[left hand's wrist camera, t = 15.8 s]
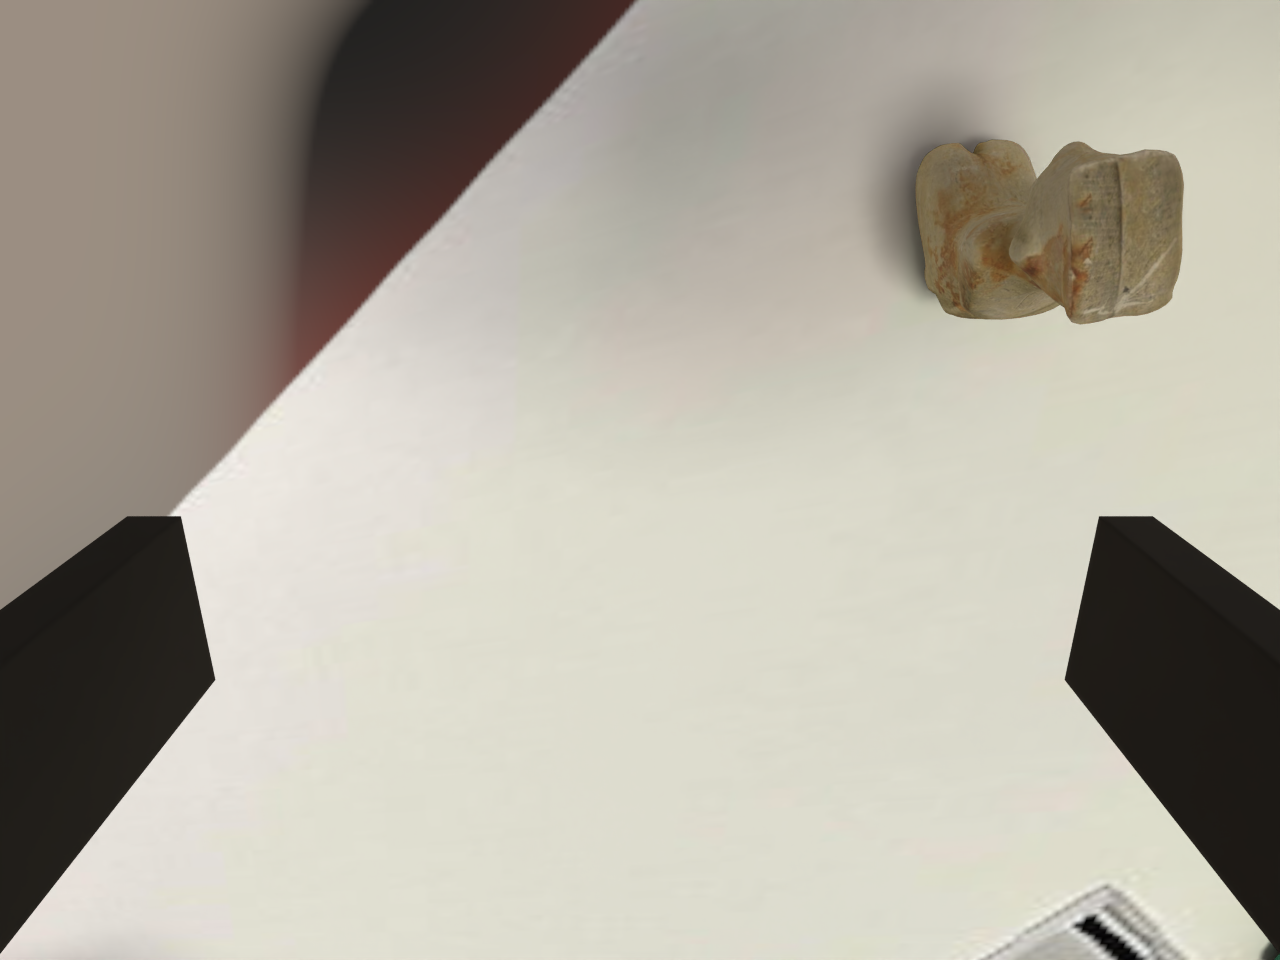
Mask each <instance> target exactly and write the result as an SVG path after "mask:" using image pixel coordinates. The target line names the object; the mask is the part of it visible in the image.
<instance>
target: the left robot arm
mask: <svg viewBox="0 0 1280 960" xmlns="http://www.w3.org/2000/svg"><path fill="white" fill-rule="evenodd" d="M214 681H215V676H214V671H213V666H212V662H211V657H210V652H209V647H208V643H207V638H206V633H205V629H204V624H203V619H202V614H201V610H200V605H199V600H198V595H197V591H196V586H195V581H194V576H193V572H192V567H191V562H190V557H189V553H188V548H187V543H186V538H185V534H184V529H183V524H182V519H181V516H127V517H126V518H124V519H123V520H122V521H120V522H119V523H118V524H116V525H115V526H114V527H112V528H111V529H110V530H108V531H107V532H105V533H104V534H103V535H101V536H100V537H99V538H97V539H96V540H95V541H93V542H92V543H91V544H89V545H88V546H86V547H85V548H84V549H82V550H81V551H80V552H78V553H77V554H76V555H74V556H73V557H72V558H70V559H69V560H67V561H66V562H65V563H63V564H62V565H61V566H59V567H58V568H57V569H55V570H54V571H53V572H51V573H50V574H48V575H47V576H46V577H44V578H43V579H42V580H40V581H39V582H38V583H36V584H35V585H34V586H32V587H31V588H29V589H28V590H27V591H25V592H24V593H23V594H21V595H20V596H19V597H17V598H16V599H15V600H13V601H12V602H10V603H9V604H8V605H6V606H5V607H4V608H2V609H1V610H0V953H1V952H2V951H3V950H4V948H5V947H6V946H7V944H8V943H9V942H10V941H11V939H12V938H13V937H14V936H15V934H16V933H17V932H18V930H19V929H20V928H21V927H22V925H23V924H24V923H25V922H26V920H27V919H28V918H29V916H30V915H31V914H32V913H33V911H34V910H35V909H36V908H37V906H38V905H39V904H40V902H41V901H42V900H43V899H44V897H45V896H46V895H47V894H48V892H49V891H50V890H51V888H52V887H53V886H54V885H55V883H56V882H57V881H58V880H59V878H60V877H61V876H62V874H63V873H64V872H65V871H66V869H67V868H68V867H69V866H70V864H71V863H72V862H73V860H74V859H75V858H76V857H77V855H78V854H79V853H80V851H81V850H82V849H83V848H84V846H85V845H86V844H87V843H88V841H89V840H90V839H91V837H92V836H93V835H94V834H95V832H96V831H97V830H98V829H99V827H100V826H101V825H102V823H103V822H104V821H105V820H106V818H107V817H108V816H109V815H110V813H111V812H112V811H113V809H114V808H115V807H116V806H117V804H118V803H119V802H120V801H121V799H122V798H123V797H124V795H125V794H126V793H127V792H128V790H129V789H130V788H131V787H132V785H133V784H134V783H135V781H136V780H137V779H138V778H139V776H140V775H141V774H142V773H143V771H144V770H145V769H146V767H147V766H148V765H149V764H150V762H151V761H152V760H153V759H154V757H155V756H156V755H157V753H158V752H159V751H160V750H161V748H162V747H163V746H164V744H165V743H166V742H167V741H168V739H169V738H170V737H171V736H172V734H173V733H174V732H175V730H176V729H177V728H178V727H179V725H180V724H181V723H182V722H183V720H184V719H185V718H186V716H187V715H188V714H189V713H190V711H191V710H192V709H193V708H194V706H195V705H196V704H197V702H198V701H199V700H200V699H201V697H202V696H203V695H204V694H205V692H206V691H207V690H208V688H209V687H210V686H211V685H212V683H213V682H214ZM1065 681H1066V682H1067V683H1068V685H1069V686H1070V687H1071V688H1072V690H1073V691H1074V692H1075V694H1076V695H1077V696H1078V697H1079V699H1080V700H1081V701H1082V702H1083V704H1084V705H1085V706H1086V708H1087V709H1088V710H1089V711H1090V713H1091V714H1092V715H1093V716H1094V718H1095V719H1096V720H1097V722H1098V723H1099V724H1100V725H1101V727H1102V728H1103V729H1104V730H1105V732H1106V733H1107V734H1108V736H1109V737H1110V738H1111V739H1112V741H1113V742H1114V743H1115V744H1116V746H1117V747H1118V748H1119V750H1120V751H1121V752H1122V753H1123V755H1124V756H1125V757H1126V759H1127V760H1128V761H1129V762H1130V764H1131V765H1132V766H1133V767H1134V769H1135V770H1136V771H1137V773H1138V774H1139V775H1140V776H1141V778H1142V779H1143V780H1144V781H1145V783H1146V784H1147V785H1148V787H1149V788H1150V789H1151V790H1152V792H1153V793H1154V794H1155V795H1156V797H1157V798H1158V799H1159V801H1160V802H1161V803H1162V804H1163V806H1164V807H1165V808H1166V809H1167V811H1168V812H1169V813H1170V815H1171V816H1172V817H1173V818H1174V820H1175V821H1176V822H1177V823H1178V825H1179V826H1180V827H1181V829H1182V830H1183V831H1184V832H1185V834H1186V835H1187V836H1188V837H1189V839H1190V840H1191V841H1192V843H1193V844H1194V845H1195V846H1196V848H1197V849H1198V850H1199V851H1200V853H1201V854H1202V855H1203V857H1204V858H1205V859H1206V860H1207V862H1208V863H1209V864H1210V866H1211V867H1212V868H1213V869H1214V871H1215V872H1216V873H1217V874H1218V876H1219V877H1220V878H1221V880H1222V881H1223V882H1224V883H1225V885H1226V886H1227V887H1228V888H1229V890H1230V891H1231V892H1232V894H1233V895H1234V896H1235V897H1236V899H1237V900H1238V901H1239V902H1240V904H1241V905H1242V906H1243V908H1244V909H1245V910H1246V911H1247V913H1248V914H1249V915H1250V916H1251V918H1252V919H1253V920H1254V922H1255V923H1256V924H1257V925H1258V927H1259V928H1260V929H1261V930H1262V932H1263V933H1264V934H1265V936H1266V937H1267V938H1268V939H1269V941H1270V942H1271V943H1272V944H1273V946H1274V947H1275V948H1276V950H1277V951H1278V952H1279V953H1280V610H1279V609H1278V608H1276V607H1275V606H1274V605H1272V604H1271V603H1270V602H1268V601H1267V600H1266V599H1264V598H1263V597H1261V596H1260V595H1259V594H1257V593H1256V592H1255V591H1253V590H1252V589H1251V588H1249V587H1248V586H1247V585H1245V584H1244V583H1242V582H1241V581H1240V580H1238V579H1237V578H1236V577H1234V576H1233V575H1232V574H1230V573H1229V572H1228V571H1226V570H1225V569H1223V568H1222V567H1221V566H1219V565H1218V564H1217V563H1215V562H1214V561H1213V560H1211V559H1210V558H1208V557H1207V556H1206V555H1204V554H1203V553H1202V552H1200V551H1199V550H1198V549H1196V548H1195V547H1194V546H1192V545H1191V544H1189V543H1188V542H1187V541H1185V540H1184V539H1183V538H1181V537H1180V536H1179V535H1177V534H1176V533H1175V532H1173V531H1172V530H1170V529H1169V528H1168V527H1166V526H1165V525H1164V524H1162V523H1161V522H1160V521H1158V520H1157V519H1156V518H1154V517H1153V516H1099V519H1098V524H1097V529H1096V534H1095V538H1094V543H1093V548H1092V553H1091V557H1090V562H1089V567H1088V572H1087V576H1086V581H1085V586H1084V591H1083V595H1082V600H1081V605H1080V610H1079V614H1078V619H1077V624H1076V629H1075V633H1074V638H1073V643H1072V647H1071V652H1070V657H1069V662H1068V666H1067V671H1066V676H1065Z"/></svg>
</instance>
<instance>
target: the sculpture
mask: <svg viewBox="0 0 1280 960" xmlns="http://www.w3.org/2000/svg"><path fill="white" fill-rule="evenodd" d="M915 188H916V207H917V215H918V223H919V229H920V235H921V240H922V246H923V251H924V257H925V266H926V268H925V271H924V275H925V280H926V284H927V287H928V289H929V290H930V291H932V292H933V293H935V294H936V296H937V298H938V300H939V302H940V304H941V306H942V308H943V310H944V311H945V312H946V313H948V314H952V315H954V316H957V317H961V318H970V319H1012V318H1021V317H1026V316H1032V315H1037V314H1040V313H1044V312H1046V311H1049V310H1051V309H1053V308H1055V307H1057V306H1059V305H1061V306H1063V307H1064V308H1065V310H1066V314H1067V316H1068V318H1069V319H1070V320H1071V322H1073V323H1077V324H1088V323H1094V322H1099V321H1103V320H1105V319H1108V318H1113V317H1120V316H1138V315H1143V314H1148V313H1151V312H1153V311H1156V310H1158V309H1160V308H1161V307H1163V306H1165V305H1166V304H1167V303H1168V302H1169V301H1170V300H1171V299H1172V292H1173V289H1174V285H1175V283H1176V281H1177V278H1178V275H1179V270H1180V264H1181V257H1182V208H1183V190H1184V182H1183V175H1182V171H1181V167H1180V164H1179V162H1178V160H1177V158H1176V156H1175V155H1173V154H1171V153H1169V152H1167V151H1161V150H1141V151H1138V152H1134V153H1130V154H1123V155H1117V154H1108V153H1101V152H1098V151H1096V150H1094V149H1092V148H1091V147H1089V146H1088V145H1087V144H1085V143H1082V142H1072V143H1070V144H1068V145H1066V146H1064V147H1063V148H1062V149H1061V150H1060V151H1059V152H1058V153H1057V154H1056V156H1055V157H1054V158H1053V160H1052V161H1051V163H1050V164H1049V166H1048V167H1047V168H1046V169H1045V170H1044V171H1043V172H1042V174H1041V175H1040V176H1039V177H1038V178H1036V175H1035V172H1034V169H1033V167H1032V164H1031V162H1030V159H1029V157H1028V155H1027V153H1026V152H1025V150H1024V149H1023V148H1022V147H1021V146H1020V145H1019V144H1017V143H1014V142H1012V141H1008V140H990V141H987V142H983V143H979V144H978V145H977V146H976V148H975V150H974V152H973V153H971V152H969V151H968V150H967V149H966V148H964V147H963V146H962V145H961V144H960V143H951V144H945V145H941V146H939V147H937V148H935V149H933V150H932V151H930V152H929V153H928V154H927V155H926V156H925V157H924V159H923V160H922V163H921V165H920V167H919V170H918V173H917V177H916V187H915Z"/></svg>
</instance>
